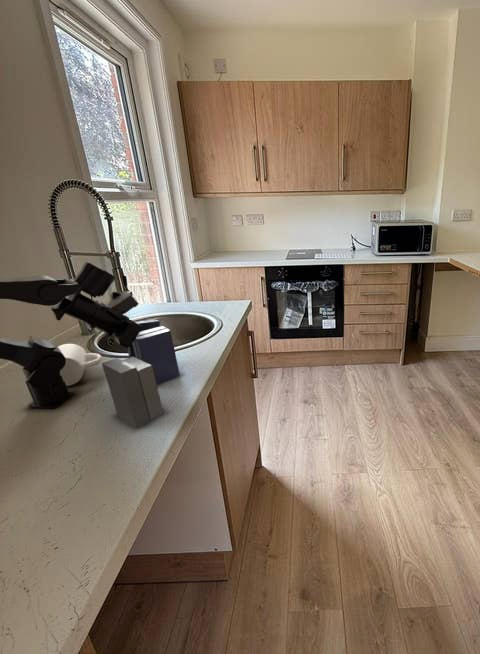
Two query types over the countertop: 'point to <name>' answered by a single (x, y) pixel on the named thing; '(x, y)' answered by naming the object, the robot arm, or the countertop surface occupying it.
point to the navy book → (145, 326)
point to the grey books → (133, 390)
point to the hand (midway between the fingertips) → (148, 340)
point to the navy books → (157, 352)
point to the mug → (76, 362)
